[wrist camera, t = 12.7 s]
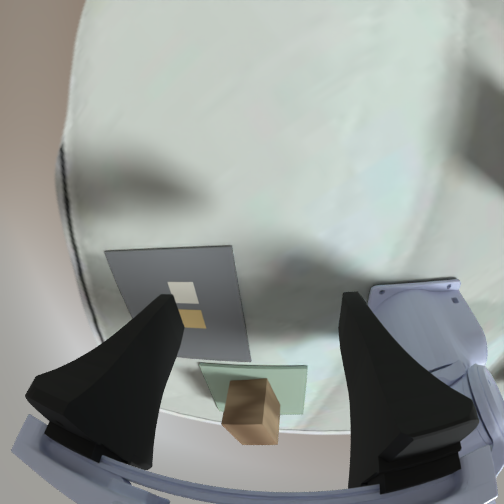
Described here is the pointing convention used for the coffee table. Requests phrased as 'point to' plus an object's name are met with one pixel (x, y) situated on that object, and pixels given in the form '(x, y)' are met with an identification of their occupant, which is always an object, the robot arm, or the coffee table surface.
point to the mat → (280, 378)
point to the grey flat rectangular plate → (189, 295)
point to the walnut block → (252, 412)
